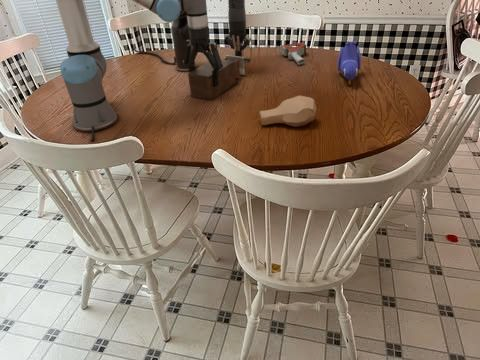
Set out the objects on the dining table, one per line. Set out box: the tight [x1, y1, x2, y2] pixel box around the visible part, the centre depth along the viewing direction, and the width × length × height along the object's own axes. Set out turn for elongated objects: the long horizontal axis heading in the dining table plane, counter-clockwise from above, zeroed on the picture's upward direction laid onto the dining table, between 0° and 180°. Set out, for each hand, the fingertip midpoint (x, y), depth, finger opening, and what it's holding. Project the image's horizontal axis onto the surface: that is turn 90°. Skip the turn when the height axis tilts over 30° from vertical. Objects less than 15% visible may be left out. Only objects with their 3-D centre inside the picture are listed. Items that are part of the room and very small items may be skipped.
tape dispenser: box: [279, 42, 307, 66], centre depth 180 cm, size 18×5×20 cm
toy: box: [336, 40, 362, 86], centre depth 151 cm, size 10×17×25 cm
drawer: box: [222, 54, 251, 78], centre depth 159 cm, size 25×9×8 cm, turn 150°
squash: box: [258, 94, 318, 128], centre depth 122 cm, size 11×20×9 cm, turn 92°
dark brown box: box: [187, 58, 237, 101], centre depth 151 cm, size 20×10×10 cm, turn 150°
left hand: (205, 83), depth 147 cm, fingers closed on dark brown box, 10 cm apart
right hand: (238, 58), depth 165 cm, fingers closed
